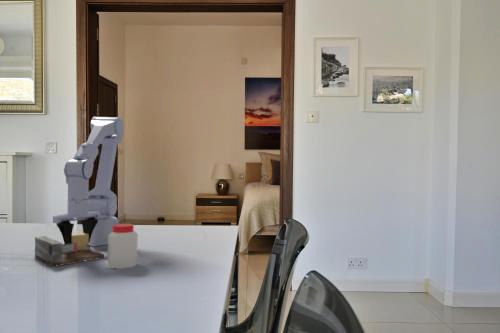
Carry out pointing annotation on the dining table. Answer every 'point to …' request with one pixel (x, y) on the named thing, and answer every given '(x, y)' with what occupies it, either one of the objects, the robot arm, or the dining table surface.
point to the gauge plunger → (69, 247)
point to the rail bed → (53, 254)
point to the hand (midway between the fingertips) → (77, 244)
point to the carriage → (80, 240)
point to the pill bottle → (122, 246)
